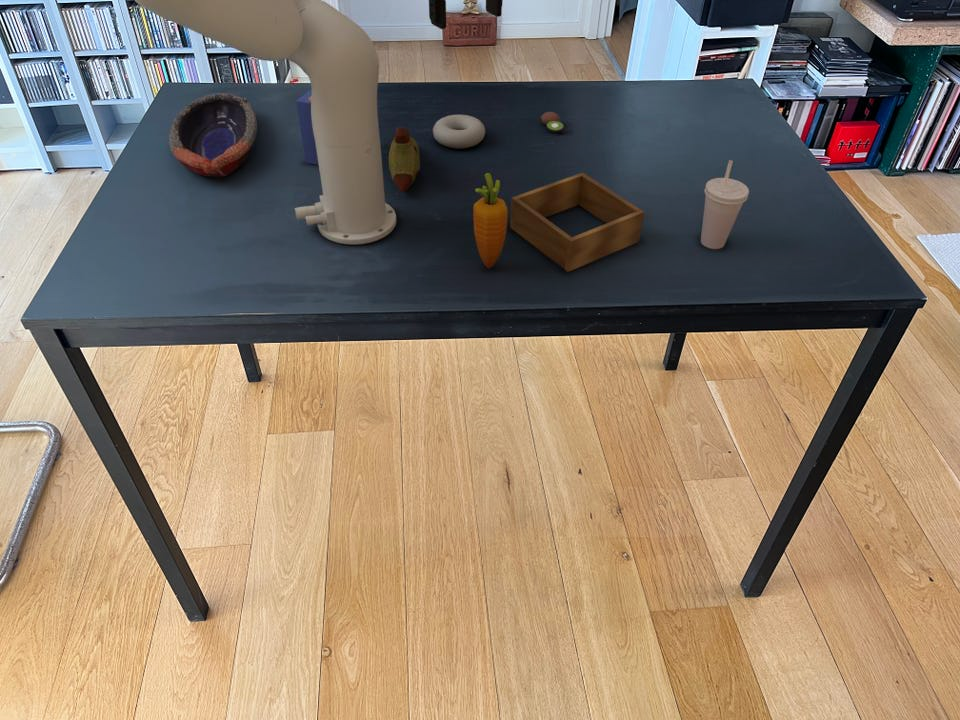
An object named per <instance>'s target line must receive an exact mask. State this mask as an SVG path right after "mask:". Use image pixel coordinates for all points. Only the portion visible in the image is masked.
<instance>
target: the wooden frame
mask: <svg viewBox="0 0 960 720" xmlns="http://www.w3.org/2000/svg"><path fill="white" fill-rule="evenodd" d="M510 201H511V203H510V219H509V220H510V222H509V223H510V224H509V228H510V229H511V230H513V231H514V232H515V233H517V234H518V235H519V236H521V237H522V238H523V239H524V240H525V241H527V242H528V243H530V244H531V245H532V246H534V247H535V248H536V249H537V250H539V251H540V252H541V253H543V254H544V255H545V256H546V257H548V258H549V259H550V260H551V261H553V262H554V263H555V264H557V265H558V266H559V267H561V268H562V269H563V270H565V271H566V272H567V273H568V272H571V271H574V270H576V269H578V268H581V267H583V266H585V265H587V264H589V263H593V262H594V261H595V262H596V261H597V260H600V259H602V258H604V257H607V256H608V255H611V254H614V253H616V252H619V251H620V250H623V249H626V248H629V247H630V246H633V245H635V244H637V243H639V242H640V238H641V232H642V227H643V223H644V217H645V211H644V210H643V209H641V208H640V207H638V206H636V205H635V204H634V203H631V202H630V201H628V200H627V199H625V198H624V197H622V196H620V195H619V194H617V193H616V192H614V191H613V190H611V189H609V188H608V187H607V186H605V185H603V184H602V183H600V182H598V180H595V179H593V178H592V177H591V176H589V175H588V174H586V173H584V172H580V173H577V174H574V175H572V176H569V177H566V178H563V179H560V180H558V181H557V180H556V181H555V182H552V183H549V184H546V185H543V186H541V187H537V188H535V189H532V190H529V191H527V192H523V193H521V194H517V195H516V196H512V197H511V200H510ZM576 206H579V207H581V209H584V210H585V211H587V212H588V213H590V214H591V215H593V216H594V217H596V218H597V219H599V220H600V221H602V223H604V224H602V225H599V226H597V227H594V228H592V229H589V230H587V231H584V232H581V233H579V234H577V235H574V236H571V235H569V234H568V233H567V232H565V230H562V229H561V228H560V227H558V226H557V225H556V224H554V223H553V222H552V221H550V220H549V219H548V218H547V217H551V216H553V215H556V214H558V213H561V212H564V211H566V210H570V209H572V208H574V207H576Z"/></svg>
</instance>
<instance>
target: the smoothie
mask: <svg viewBox="0 0 960 720" xmlns="http://www.w3.org/2000/svg"><path fill="white" fill-rule="evenodd" d="M732 166H733V160H731V159H729V160H728V163H727V167H726V170H725V174H724V177H716V178H711V179H709V180H708V181H707V182H706V184H705V188H704V190H703V191H704V194H705V198H704V207H703V217H702V226H701V235H700V243H701V245H702V246H704V247H706V248H707V249H711V250H720V249H722V248H724V247H725V245H726V242H727V240H728V238H729V236H730V233H731V231H732V229H733V227H734V225H735V222H736V220H737V218H738V215H739V213H740V211H741V209H742V207H743V204H744V203H745V202H746V201H748V199H749V194H750V190H749V189H750V188H748V186H747V185H746V184H745V183H743V182H741V181H739V180H736V179H733V178H729V177H730V174H731V170H732Z"/></svg>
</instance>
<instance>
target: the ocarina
mask: <svg viewBox="0 0 960 720" xmlns="http://www.w3.org/2000/svg"><path fill="white" fill-rule="evenodd" d="M388 168H389V172H390V177H391V179H392V182H393V183H394V185H395V186H396V188H397V189H398V190H399V191H400V192H402V193H404V192H406V191H407V190H408V189H409V188H410V187H411V186H412V185H413V183H414V182H415V181H416V179H417V178H418V175H419V173H420V169H421V158H420V148H419V145H418V143H417V141H416V140H415V139H414V138H413V137H412V136H411V135H410V133H409V130H408V129H407V128H406V127H404V126H399V127H397V128H396V130H395V133H394V138H393V140H392V142H391V144H390V148H389V153H388Z"/></svg>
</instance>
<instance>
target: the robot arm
mask: <svg viewBox="0 0 960 720" xmlns="http://www.w3.org/2000/svg"><path fill="white" fill-rule="evenodd" d="M134 2H135V3H137V4H138V5H139V6H141V7H142V8H144V9H145V10H147V11H149V12H151V13H153V14H155V16H159V17H160V18H163V19H165V20H166V21H169V22H172V23H174V24H177V25H179V26H181V27H184V28H186V29H189V30H190V31H192V32H195V33H197V34H199V35H201V36H203V37H206V38H208V39H211V40H213V41H215V42H218V43H220V44H222V45H225V46H227V47H230V48H232V49H235V50H236V51H239V52H241V53H243V54H245V55H247V56H249V57H252V58H253V59H257V60H260V61H267V62H279V61H282V60H287V61H289V62H292V63H294V64H295V65H297V66H298V68H300V69H301V70H302V71H303V73H304V74H305V75H306V76H307V77H308V79H309V82H310V89H312V95H311V118H312V127H313V133H314V138H315V144H316V150H317V157H318V164H319V165H318V169H319V175H320V176H319V178H320V182H321V183H320V184H321V189H322V194H321V195H319V201H318V202H314V203H313V204H314V205H308V206H306V205H303V206H299V207H294V212H295V217H296V220H297V221H301V220H305V222H306V225H307V226H312V225H317V229H318V231H319V233H320V234H321V235H322V236H323V237H324V238H326V239H327V240H328V241H329V240H330V241H332V242H334V243H337V244H343V245H354V246H355V245H365V244H370V243H374V242H377V241H379V240H381V239H383V238H385V237H387V236H388V235H390V234H391V233H392V232H393V231H394V229H395V227H396V225H397V214H396V211H395V209H394V207H392V206H391V205H390V204H388V203H386V195H385V183H384V172H383V161H382V147H381V138H380V137H381V136H380V128H379V127H380V126H379V116H378V115H379V113H378V86H379V75H380V62H379V61H380V60H379V55H378V51H377V49H376V47H375V44H374V42H373V40H372V39H371V38H370V36H369V35H368V34H367V32H366V31H365V30H364V29H363V28H362V27H361V26H360V25H359V24H358V23H356V22H355V21H353V20H352V19H350V18H349V17H348V16H347V15H345V14H344V13H342V12H341V11H339V10H338V9H337V8H335V7H334V6H332V5H331V4H330V3H328V2H326V1H324V0H134ZM502 10H503V0H485V12H486V13H488V14H490V15H493V16H495V17H497V18H498V17H499V18H500V17H502V13H503V11H502ZM428 16H429V20H430V23H431V25H433V26H435V27H436V28H438V29H440V30H445V29H446V28H447V0H428Z"/></svg>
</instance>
